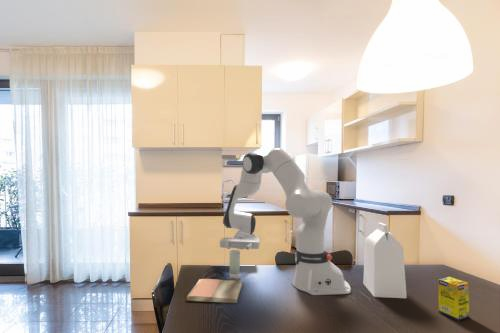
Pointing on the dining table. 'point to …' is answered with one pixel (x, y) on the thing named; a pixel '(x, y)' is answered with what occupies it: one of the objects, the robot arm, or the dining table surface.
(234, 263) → the grey-green rectangular block
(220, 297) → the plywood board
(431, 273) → the dining table surface
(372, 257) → the milk
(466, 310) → the supplement box
